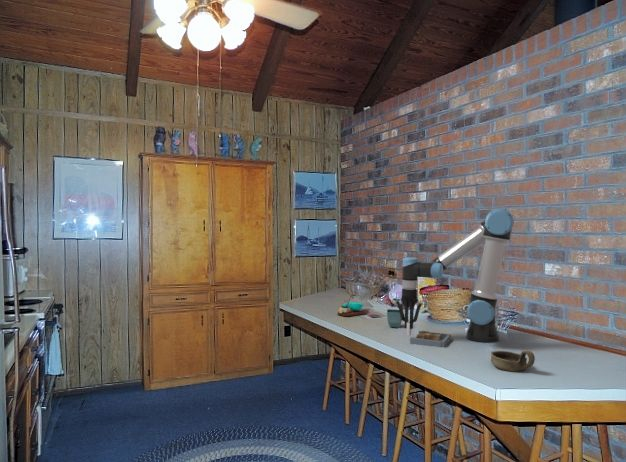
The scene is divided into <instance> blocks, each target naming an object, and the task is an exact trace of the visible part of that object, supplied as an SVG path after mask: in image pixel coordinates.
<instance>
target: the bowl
mask: <svg viewBox="0 0 626 462" xmlns="http://www.w3.org/2000/svg"><path fill="white" fill-rule="evenodd" d="M526 355H527V356H528V358H527V357H526ZM527 359H528V360H527ZM535 360H536V357H535V354H534V353H533V351H531V350H529V349H525V350H523V351H521V353H516V352H512V351H507V350H494V351H490V362H491V364H492V365H493V366H494V367H495V368H496V369H499V370H501V371H505V372H507V371H508V372H521V371H524V370H527V369H529V368H531V367H532V366H534V364H535Z"/></svg>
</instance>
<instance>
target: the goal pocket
mask: <svg viewBox="0 0 626 462" xmlns="http://www.w3.org/2000/svg"><path fill="white" fill-rule="evenodd" d="M421 331H422V330H419V331H418V334H419V333H420V332H421ZM428 332H429V333H431V334H440V335H441V341H435V340H427V339H419V338H417V337H410V338H409V342H410V343H409V345H415V344H416V346H427V347H434V346H435V347H436V348H443V347H444V346H445V347H446V346H447V345H448V344H449V342H450V341H451V340H452V334H449V333H440V332H432V331H428ZM435 347H434V348H435ZM445 347H444V348H445Z"/></svg>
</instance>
